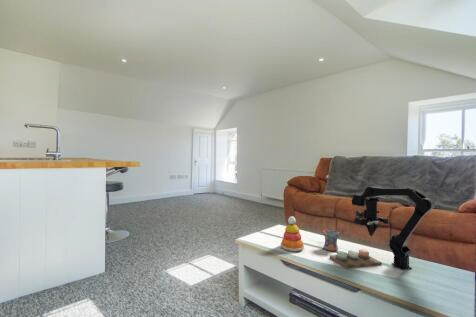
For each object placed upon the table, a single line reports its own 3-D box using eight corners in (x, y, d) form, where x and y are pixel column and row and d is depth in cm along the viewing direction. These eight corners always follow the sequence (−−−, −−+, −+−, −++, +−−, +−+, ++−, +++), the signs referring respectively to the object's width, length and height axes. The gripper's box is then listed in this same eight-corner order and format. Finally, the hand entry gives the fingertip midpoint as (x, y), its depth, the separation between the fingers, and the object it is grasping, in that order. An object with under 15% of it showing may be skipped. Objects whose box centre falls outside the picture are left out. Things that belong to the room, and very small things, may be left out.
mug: (336, 253, 137) (336, 235, 137) (320, 249, 143) (320, 232, 143) (342, 247, 147) (342, 231, 147) (327, 244, 152) (327, 228, 153)
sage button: (342, 255, 130) (342, 250, 130) (349, 259, 125) (349, 254, 125) (335, 255, 128) (335, 251, 128) (341, 259, 123) (341, 255, 123)
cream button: (353, 254, 131) (353, 250, 131) (360, 258, 126) (360, 253, 126) (345, 255, 130) (346, 250, 130) (352, 258, 125) (352, 254, 125)
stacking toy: (309, 249, 142) (309, 217, 142) (293, 254, 134) (293, 220, 134) (291, 242, 154) (292, 213, 154) (275, 246, 146) (276, 215, 146)
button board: (362, 255, 136) (363, 251, 136) (381, 265, 123) (381, 261, 123) (329, 258, 130) (329, 254, 130) (345, 268, 118) (345, 264, 118)
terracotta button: (364, 253, 133) (364, 249, 133) (371, 257, 128) (371, 252, 128) (356, 254, 132) (356, 249, 132) (363, 257, 127) (363, 253, 127)
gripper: (373, 205, 144) (373, 230, 144) (347, 206, 140) (347, 232, 140) (389, 209, 133) (388, 236, 133) (361, 210, 129) (361, 238, 129)
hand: (370, 235), depth 134 cm, fingers closed
